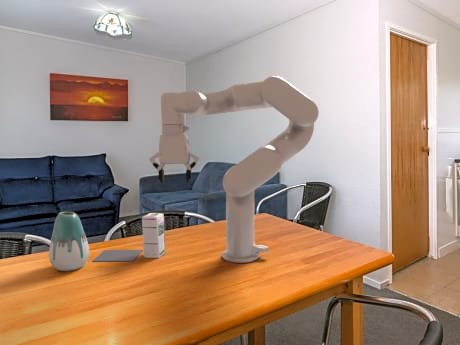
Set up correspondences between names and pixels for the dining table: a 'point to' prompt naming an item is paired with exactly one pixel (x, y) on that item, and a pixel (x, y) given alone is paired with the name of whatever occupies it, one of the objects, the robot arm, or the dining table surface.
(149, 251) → the syrup box
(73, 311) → the dining table surface
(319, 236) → the dining table surface
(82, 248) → the vase
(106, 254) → the mat
